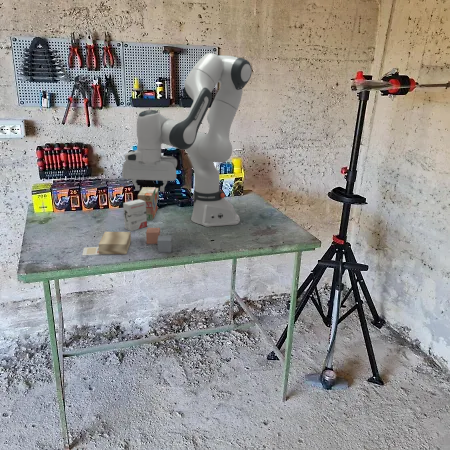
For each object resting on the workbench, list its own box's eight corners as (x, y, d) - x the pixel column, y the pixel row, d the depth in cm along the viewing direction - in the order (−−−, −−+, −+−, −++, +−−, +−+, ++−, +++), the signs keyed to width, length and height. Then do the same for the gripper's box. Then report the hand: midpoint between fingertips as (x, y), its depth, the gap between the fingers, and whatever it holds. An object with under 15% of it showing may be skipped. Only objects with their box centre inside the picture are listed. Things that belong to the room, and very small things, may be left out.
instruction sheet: (108, 246, 161) (108, 246, 161) (107, 254, 155) (107, 253, 155) (84, 247, 159) (84, 247, 159) (82, 255, 153) (82, 255, 153)
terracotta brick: (160, 239, 170) (160, 227, 168) (159, 244, 165) (159, 232, 163) (148, 239, 169) (147, 227, 167) (146, 244, 165) (146, 232, 163)
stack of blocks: (147, 205, 208) (146, 181, 204) (159, 205, 209) (158, 182, 204) (138, 220, 189) (137, 194, 184) (152, 220, 189) (151, 195, 184)
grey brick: (171, 247, 163) (171, 235, 161) (171, 252, 158) (170, 240, 156) (158, 247, 162) (158, 235, 160) (157, 252, 158) (157, 240, 156)
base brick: (131, 241, 166) (130, 232, 165) (126, 254, 155) (126, 244, 154) (105, 241, 166) (104, 231, 164) (99, 253, 154) (98, 244, 153)
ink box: (141, 223, 185) (139, 198, 180) (147, 226, 182) (146, 201, 177) (124, 228, 179) (122, 202, 175) (130, 231, 176) (128, 205, 172)
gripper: (177, 154, 159) (177, 189, 164) (123, 152, 158) (125, 187, 163) (176, 158, 153) (176, 194, 158) (120, 155, 152) (121, 192, 157)
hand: (149, 190), depth 160 cm, fingers open, 8 cm apart
